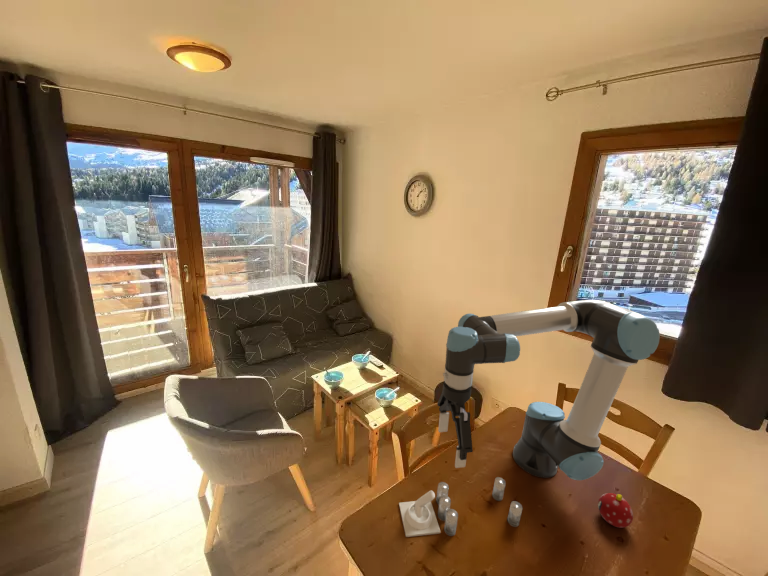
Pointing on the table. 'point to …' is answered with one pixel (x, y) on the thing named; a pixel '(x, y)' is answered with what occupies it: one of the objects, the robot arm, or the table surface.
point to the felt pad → (413, 531)
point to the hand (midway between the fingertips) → (450, 447)
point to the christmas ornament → (615, 510)
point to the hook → (420, 511)
